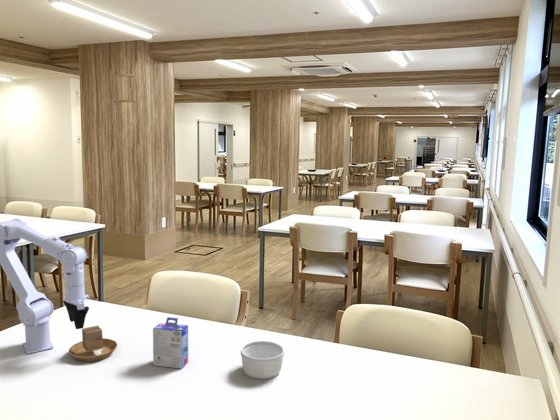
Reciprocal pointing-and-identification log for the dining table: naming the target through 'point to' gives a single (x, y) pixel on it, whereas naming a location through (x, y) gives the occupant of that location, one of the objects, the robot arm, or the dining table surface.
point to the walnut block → (92, 338)
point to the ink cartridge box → (170, 344)
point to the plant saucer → (84, 355)
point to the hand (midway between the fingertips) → (76, 324)
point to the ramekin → (262, 359)
